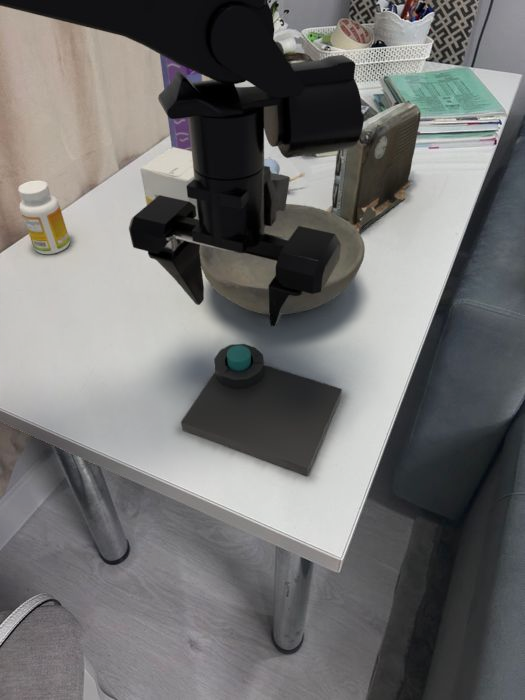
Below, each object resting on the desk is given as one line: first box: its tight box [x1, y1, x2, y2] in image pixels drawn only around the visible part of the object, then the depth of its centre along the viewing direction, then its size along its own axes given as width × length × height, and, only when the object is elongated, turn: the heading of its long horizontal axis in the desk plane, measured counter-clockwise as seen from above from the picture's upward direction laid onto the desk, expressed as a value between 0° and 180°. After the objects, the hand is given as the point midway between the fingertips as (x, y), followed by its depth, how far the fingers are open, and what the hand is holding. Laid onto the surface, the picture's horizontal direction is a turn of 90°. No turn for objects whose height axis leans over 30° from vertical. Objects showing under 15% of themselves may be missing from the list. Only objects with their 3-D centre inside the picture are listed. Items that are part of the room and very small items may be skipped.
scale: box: [180, 343, 343, 477], centre depth 55 cm, size 14×12×3 cm
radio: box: [326, 100, 422, 233], centre depth 84 cm, size 23×9×15 cm, turn 137°
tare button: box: [227, 345, 251, 371], centre depth 57 cm, size 3×3×2 cm
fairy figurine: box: [264, 156, 305, 195], centre depth 93 cm, size 12×5×12 cm
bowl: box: [199, 203, 366, 315], centre depth 68 cm, size 21×21×8 cm
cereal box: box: [159, 54, 203, 151], centre depth 87 cm, size 17×5×24 cm, turn 13°
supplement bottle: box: [17, 180, 71, 255], centre depth 76 cm, size 5×5×10 cm
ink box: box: [140, 146, 199, 220], centre depth 78 cm, size 8×8×12 cm
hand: (236, 312), depth 52 cm, fingers open, 8 cm apart
